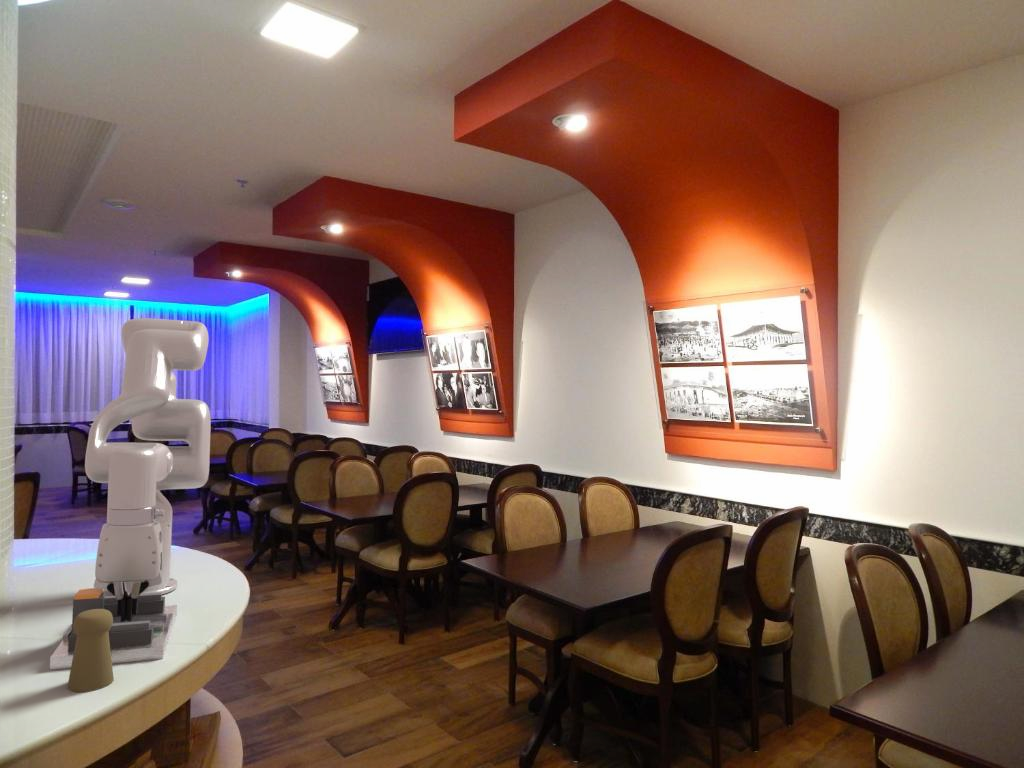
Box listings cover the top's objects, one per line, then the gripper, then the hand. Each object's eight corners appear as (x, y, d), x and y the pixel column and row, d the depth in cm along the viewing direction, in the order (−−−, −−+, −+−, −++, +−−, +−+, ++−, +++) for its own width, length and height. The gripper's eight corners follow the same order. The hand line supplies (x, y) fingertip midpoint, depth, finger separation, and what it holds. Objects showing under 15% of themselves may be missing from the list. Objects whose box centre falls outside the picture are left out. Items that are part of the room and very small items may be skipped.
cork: (91, 694, 99) (94, 619, 99) (57, 689, 100) (60, 615, 100) (123, 677, 105) (125, 607, 105) (90, 672, 106) (92, 603, 106)
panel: (82, 622, 127) (83, 608, 127) (176, 615, 133) (177, 601, 133) (49, 669, 106) (50, 652, 106) (162, 658, 112) (163, 641, 112)
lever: (77, 627, 119) (78, 588, 119) (103, 625, 120) (104, 587, 120) (71, 635, 115) (73, 595, 115) (98, 632, 116) (100, 593, 116)
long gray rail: (93, 614, 126) (93, 596, 126) (164, 608, 130) (165, 591, 130) (67, 651, 109) (68, 630, 109) (151, 643, 113) (151, 623, 113)
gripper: (180, 511, 126) (176, 609, 126) (88, 514, 121) (84, 615, 121) (175, 519, 119) (171, 622, 119) (77, 522, 114) (73, 630, 114)
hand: (127, 618), depth 120 cm, fingers closed
